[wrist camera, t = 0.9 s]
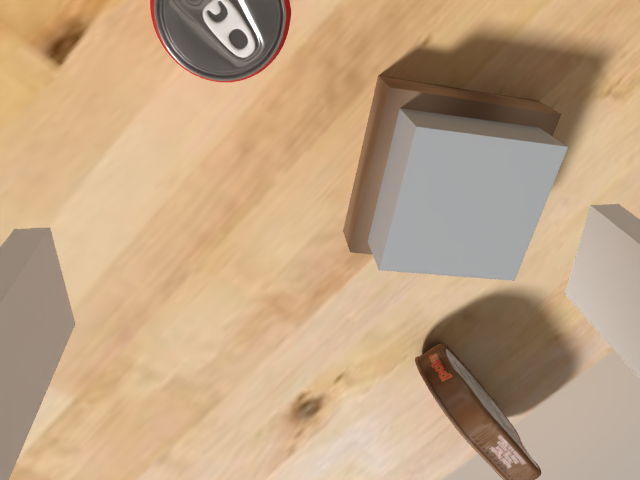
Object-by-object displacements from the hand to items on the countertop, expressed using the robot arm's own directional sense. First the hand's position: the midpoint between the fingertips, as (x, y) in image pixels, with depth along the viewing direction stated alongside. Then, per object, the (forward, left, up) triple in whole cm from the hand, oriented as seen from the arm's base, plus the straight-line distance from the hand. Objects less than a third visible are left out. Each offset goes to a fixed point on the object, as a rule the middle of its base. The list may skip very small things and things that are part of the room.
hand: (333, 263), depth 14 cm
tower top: (+11, -5, -19) cm, 23 cm away
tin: (+19, -24, -22) cm, 38 cm away
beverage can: (-4, +4, -22) cm, 23 cm away
